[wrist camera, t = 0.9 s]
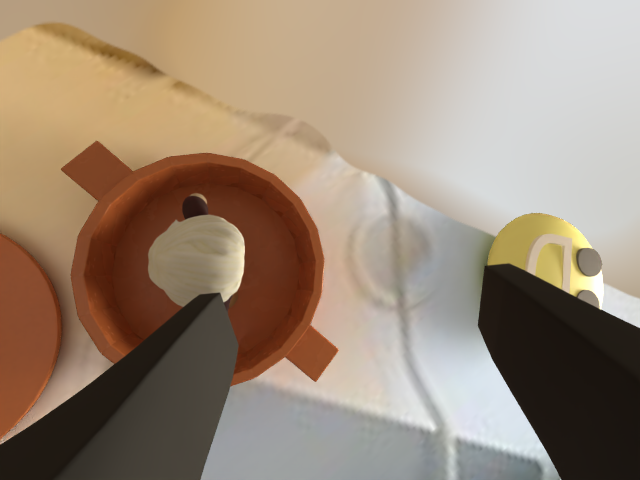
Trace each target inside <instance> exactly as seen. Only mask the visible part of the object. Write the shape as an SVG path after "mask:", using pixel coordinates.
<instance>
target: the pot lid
mask: <svg viewBox="0 0 640 480" xmlns="http://www.w3.org/2000/svg"><path fill="white" fill-rule="evenodd" d="M61 332H62V323H61V311H60V307H59V303H58V298H57V295H56V293H55V291H54V288H53V286H52V283H51V281H50V280H49V278H48V276H47V275H46V273H45V272H44V270H43V269H42V267H41V266H40V265H39V264H38V263H37V261H36V260H35V259H34V258H33V257H32V256H31V255H30V254H29V253H28V252H27V251H26V250H24V249H23V248H22V247H21V246H20V245H18V244H17V243H15V242H14V241H12V240H11V239H9V238H8V237H7V236H5V235H3V234H1V233H0V439H1V438H2V437H3V436H4V435H5V434H6V433H7V432H9V431H10V430H11V429H12V428H13V427H14V426H15V425H16V424H17V423H18V422H19V421H20V420H21V419H22V418H23V417H24V415H25V414H26V413H27V412H28V411H29V410H30V409H31V407H32V406H33V405H34V403H35V402H36V400H37V399H38V397H39V396H40V395H41V393H42V391H43V390H44V388H45V386H46V384H47V382H48V380H49V378H50V377H51V374H52V371H53V369H54V366H55V364H56V361H57V357H58V353H59V348H60V344H61Z"/></svg>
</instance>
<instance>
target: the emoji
mask: <svg viewBox="0 0 640 480" xmlns="http://www.w3.org/2000/svg"><path fill="white" fill-rule="evenodd" d="M507 263H510V264H512V265H514V266H516V267H519V268H521V269H523V270H525V271H527V272H529V273H531V274H533V275H535V276H537V277H539V278H541V279H542V280H544V281H546V282H548V283H550V284H552V285H554V286H556V287H558V288H560V289H562V290H564V291H566V292H567V293H569V294H571V295H573V296H575V297H577V298H579V299H581V300H583V301H585V302H587V303H589V304H591V305H593V306H595V307H597V308H599V309H600V308H601V304H602V298H603V279H602V272H601V268H602V261H601V258H600V256H599V254H598V253H597V252H596V251H595V250H594V249H592V247H591V246H590V244H589V243H588V242H587V240H586V239H585V237H584V236H583V235H582V234H581V233H580V232H579V231H578V229H576V228H575V227H574V226H572V225H571V224H570V223H568V222H566V221H564V220H563V219H560V218H557V217H554V216H551V215H547V214H542V213H531V214H526V215H523V216H520V217H518V218H516V219H514V220H513V221H511V222H510V223H508V224H507V225H506V226H505V227H504V228H503V229H502V230H501V231H500V232H499V234H498V235H497V237H496V238H495V240H494V242H493V244H492V247H491V249H490V252H489V257H488V263H487V265H497V264H507Z"/></svg>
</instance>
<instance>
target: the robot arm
mask: <svg viewBox="0 0 640 480" xmlns="http://www.w3.org/2000/svg"><path fill="white" fill-rule="evenodd" d="M478 327H479V329H480V332H481V334H482V336H483V339H484V341H485V344H486V346H487V348H488V350H489V353H490V355H491V357H492V359H493V361H494V363H495V365H496V367H497V368H498V370H499V372H500V373H501V375H502V377H503V379H504V380H505V382H506V384H507V385H508V387H509V389H510V391H511V392H512V394H513V396H514V397H515V399H516V401H517V402H518V404H519V406H520V407H521V409H522V411H523V412H524V414H525V416H526V418H527V419H528V421H529V423H530V424H531V426H532V428H533V429H534V431H535V433H536V434H537V436H538V438H539V439H540V441H541V443H542V444H543V446H544V448H545V450H546V451H547V453H548V455H549V457H550V459H551V461H552V462H553V464H554V466H555V468H556V470H557V472H558V474H559V476H560V478H561V480H640V328H638V327H636V326H634V325H632V324H630V323H628V322H625V321H623V320H621V319H619V318H617V317H615V316H613V315H611V314H609V313H607V312H605V311H603V310H601V309H599V308H597V307H595V306H593V305H591V304H589V303H587V302H585V301H583V300H581V299H579V298H577V297H575V296H573V295H571V294H569V293H567V292H566V291H564V290H562V289H560V288H558V287H556V286H554V285H552V284H550V283H548V282H546V281H544V280H542V279H541V278H539V277H537V276H535V275H533V274H531V273H529V272H527V271H525V270H523V269H521V268H519V267H516V266H514V265H512V264H510V263H507V264H497V265H487V266H485V268H484V276H483V285H482V293H481V302H480V310H479V319H478ZM238 347H239V344H238V342H237V339H236V336H235V333H234V330H233V327H232V325H231V322H230V319H229V316H228V313H227V310H226V307H225V305H224V302H223V299H222V296H221V293H220V292H218V293H209V294H199V295H198V296H197V297H195V298H194V299H193V300H191V301H190V302H189V303H188V304H186V305H185V306H184V307H183V308H182V309H180V310H179V311H178V312H177V313H176V314H174V315H173V316H172V317H171V318H170V319H169V320H167V321H166V322H165V323H164V324H163V325H162V326H160V327H159V328H158V329H157V330H156V331H154V332H153V333H152V334H151V335H150V336H149V337H147V338H146V339H145V340H144V341H143V342H142V343H140V344H139V345H138V346H137V347H136V348H134V349H133V350H132V351H131V352H129V353H128V354H127V355H126V356H124V357H123V358H122V359H121V360H119V361H118V362H117V363H116V364H114V365H113V366H112V367H110V368H109V369H108V370H107V371H105V372H104V373H103V374H102V375H100V376H99V377H98V378H97V379H95V380H94V381H93V382H91V383H90V384H89V385H87V386H86V387H85V388H83V389H82V390H81V391H79V392H78V393H77V394H75V395H74V396H73V397H71V398H70V399H68V400H67V401H66V402H64V403H63V404H61V405H60V406H58V407H57V408H55V409H54V410H53V411H51V412H50V413H48V414H47V415H45V416H44V417H43V418H41V419H40V420H38V421H37V422H35V423H34V424H32V425H31V426H29V427H28V428H26V429H25V430H23V431H22V432H20V433H18V434H17V435H15V436H14V437H12V438H11V439H9V440H7V441H6V442H4V443H3V444H1V445H0V480H200V479H201V475H202V472H203V469H204V465H205V462H206V459H207V456H208V453H209V450H210V447H211V444H212V441H213V438H214V435H215V432H216V429H217V426H218V423H219V420H220V417H221V414H222V411H223V408H224V404H225V401H226V398H227V395H228V392H229V389H230V386H231V382H232V379H233V374H234V369H235V364H236V359H237V353H238Z"/></svg>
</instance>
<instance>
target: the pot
mask: <svg viewBox="0 0 640 480" xmlns="http://www.w3.org/2000/svg"><path fill="white" fill-rule="evenodd" d="M61 170H62V171H63V172H64V173H65V174H66V175H68V176H69V177H70V178H71V179H72V180H74V181H75V182H76V183H77V184H78V185H80V186H81V187H82V188H83V189H84V190H86V191H87V192H88V193H89V194H90V195H92V196H93V197H94V198H95V199H96V200H98V203H97V204H96V206H95V208H94V209H93V211H92V213H91V214H90V216H89V218H88V220H87V221H86V223H85V225H84V226H83V228H82V230H81V231H80V233H79V235H78V239H77V244H76V249H75V254H74V260H73V265H72V270H71V282H72V287H73V292H74V298H75V303H76V309H77V314H78V317H79V320H80V321H81V323H82V324H83V326H84V328H85V329H86V331H87V332H88V334H89V336H90V337H91V339H92V340H93V342H94V344H95V345H96V347H97V348H98V350H99V351H100V353H101V354H102V355H103V356H105V357H106V358H107V359H109V360H110V361H111V362H113V363H114V364H116V363H117V362H118V361H119V360H121V359H122V358H123V357H124V356H126V355H127V354H128V353H129V352H131V351H132V350H133V349H134V348H136V347H137V346H138V345H139V344H140V343H142V342H143V341H144V340H145V339H146V338H147V337H149V336H150V335H151V334H152V333H153V332H154V331H156V330H157V329H158V328H159V327H160V326H162V325H163V324H164V323H165V322H166V321H167V320H169V319H170V318H171V317H172V316H173V315H174V314H176V313H177V312H178V311H179V310H180V309H182V308H183V307H182V306H180V305H178V304H176V303H175V302H173V301H172V300H171V299H170V298H169V296H168V295H167V294H166V292H165V291H164V290H163V289H161V288H159V287H158V286H157V285H156V284H155V283H154V282H153V281H152V280H151V279H150V277H149V272H148V264H149V258H148V253H149V249H150V247H151V246H152V245H153V243H154V241H155V240H156V238H157V237H159V236H160V235H161V234H163V233H164V232H165V231H167V229H168V228H169V227H170V226H171V224H172V223H173V222H174V221H175V220H177V221H178V222H182V221H184V220H185V218H184V215H183V213H182V205H183V201H184V200H185V198H187V197H188V196H190V195H191V194H195V193H198V194H201V195H203V196H204V197H205V199H206V201H207V206H208V215H214V216H218V217H221V218H223V219H225V220H226V221H227V222H229V223H231V224H233V225H234V226H235V227H236V228H237V229H238V230H239V232H240V233H241V234H242V236H243V238H244V245H245V254H244V272H243V276H242V279H241V284H240V286H239V288H238V298H237V301H236V303H235V304H234V305H233V306H232V307H231V308H229V309H228V316H229V319H230V322H231V325H232V327H233V330H234V333H235V336H236V339H237V342H238V344H239V347H238V353H237V359H236V364H235V369H234V374H233V379H232V382H231V386H233V385H236V384H239V383H242V382H245V381H248V380H251V379H254V378H255V377H257V376H259V375H260V374H262V373H263V372H264V371H266V370H267V369H269V368H270V367H271V366H273V365H274V364H276V363H277V362H278V361H280V360H281V359H283V358H284V357H286V358H287V359H288V360H289V361H291V362H292V363H293V364H294V365H295V366H297V367H298V368H299V369H300V370H301V371H303V372H304V373H305V374H306V375H307V376H309V377H310V378H311V379H312V380H313V381H315V382H316V381H317V380H318V378H319V377H320V376H321V374H322V373H323V371H324V370H325V369H326V367H327V366H328V364H329V363H330V362H331V360H332V359H333V358H334V356H335V355H336V353H337V352H338V351H339V350H338V348H336V347H335V346H334V345H333V344H332V343H331V342H329V341H328V340H327V339H326V338H325V337H324V336H323V335H321V334H320V333H319V332H318V331H317V330H316V329H314V328H313V327H312V326H311V325H310V324H311V321H312V318H313V316H314V313H315V311H316V308H317V305H318V303H319V300H320V298H321V295H322V294H321V293H322V288H323V274H324V255H323V251H322V247H321V242H320V238H319V234H318V229H317V228H316V225H315V223H314V221H313V220H312V218H311V216H310V215H309V213H308V211H307V209H306V208H305V206H304V204H303V202H302V201H301V199H300V198H299V197H298V196H297V195H296V194H295V193H294V192H293V191H292V190H291V189H290V188H289V187H288V186H286V185H285V184H284V183H283V182H282V181H281V180H280V179H279V178H278V177H277V176H276V175H274V174H272V173H270V172H268V171H266V170H264V169H262V168H260V167H258V166H256V165H254V164H252V163H250V162H248V161H246V160H243V159H239V158H234V157H228V156H223V155H217V154H212V153H199V154H190V155H180V156H171V157H169V158H168V157H167V158H164V159H162V160H160V161H157V162H155V163H152V164H150V165H148V166H145V167H143V168H141V169H138V170H136V171H132V170H131V169H130V168H129V167H127V166H126V165H125V164H124V163H123V162H122V161H120V160H119V159H118V158H117V157H116V156H115V155H113V154H112V153H111V152H110V151H109V150H108V149H107V148H105V147H104V146H103V145H102V144H101V143H100V142H98V141H96V142H94V143H93V144H92V145H91V146H89V147H88V148H87V149H85V150H84V151H83V152H82V153H80V154H79V155H78V156H77V157H75V158H74V159H73V160H71V161H70V162H69V163H68V164H66V165H65V166H64V167H63V168H61Z"/></svg>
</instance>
